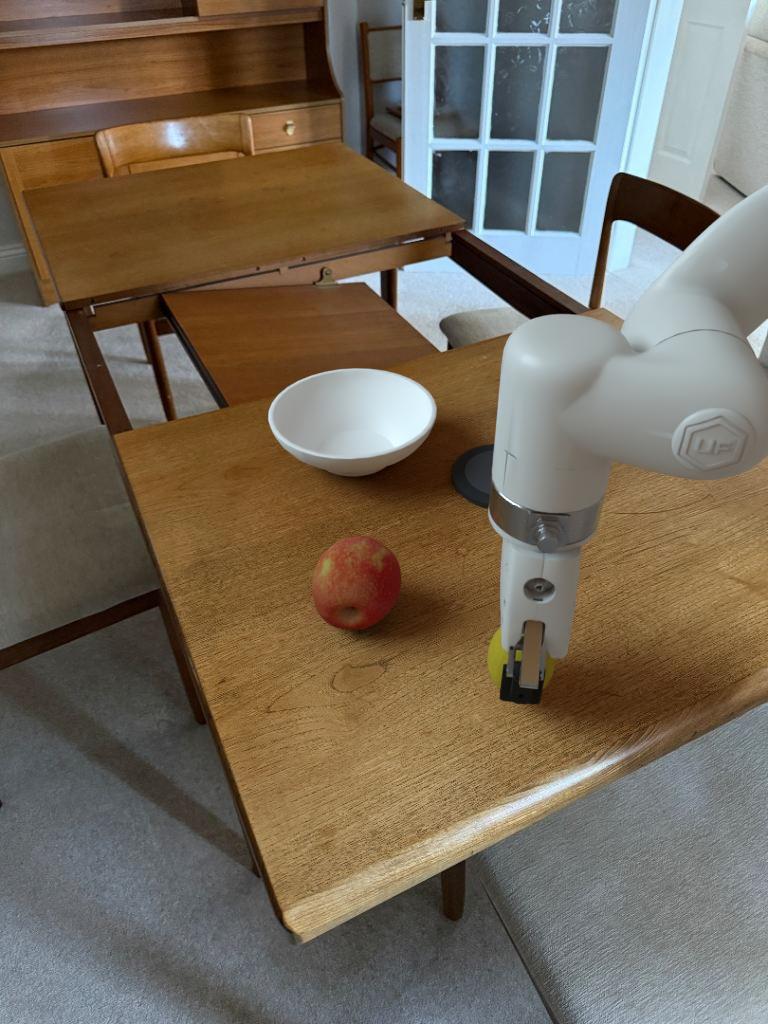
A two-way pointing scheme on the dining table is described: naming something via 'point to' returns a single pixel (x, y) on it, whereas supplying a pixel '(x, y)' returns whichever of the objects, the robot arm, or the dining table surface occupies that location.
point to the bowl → (352, 419)
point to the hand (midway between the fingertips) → (519, 667)
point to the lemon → (500, 656)
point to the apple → (356, 583)
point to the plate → (474, 474)
